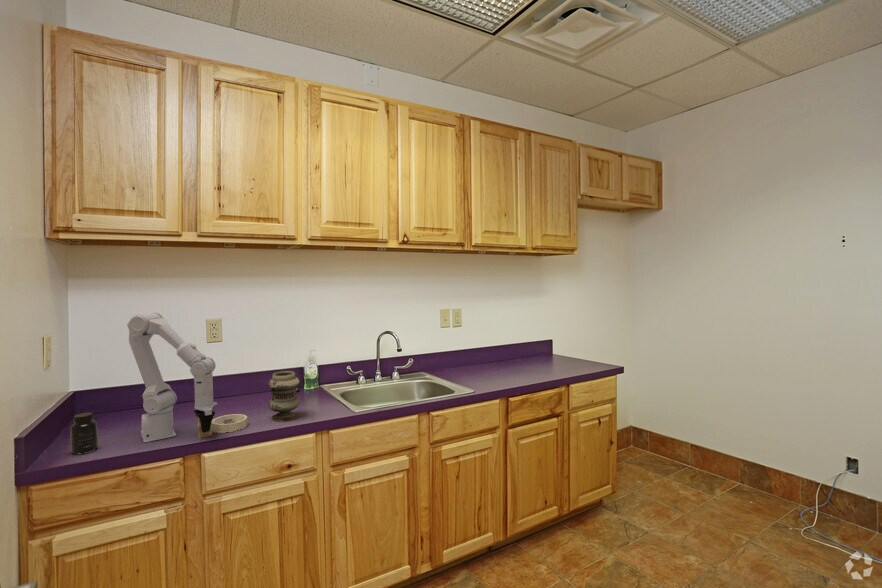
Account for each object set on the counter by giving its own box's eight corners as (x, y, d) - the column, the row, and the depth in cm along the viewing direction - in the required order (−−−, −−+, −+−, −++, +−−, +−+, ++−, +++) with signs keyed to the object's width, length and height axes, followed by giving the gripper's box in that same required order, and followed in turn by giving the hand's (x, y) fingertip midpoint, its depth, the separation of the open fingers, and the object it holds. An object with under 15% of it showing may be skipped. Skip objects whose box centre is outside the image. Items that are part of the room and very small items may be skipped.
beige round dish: (215, 435, 152) (215, 427, 152) (208, 426, 161) (208, 418, 161) (251, 427, 160) (250, 419, 160) (242, 419, 169) (242, 412, 169)
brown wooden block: (199, 438, 150) (198, 415, 149) (198, 436, 151) (197, 414, 151) (211, 435, 152) (211, 413, 152) (210, 433, 154) (210, 411, 154)
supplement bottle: (69, 451, 139) (67, 414, 139) (95, 445, 144) (94, 410, 144) (73, 456, 134) (71, 419, 134) (100, 450, 140) (99, 414, 139)
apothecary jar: (272, 424, 163) (271, 377, 163) (265, 416, 173) (264, 372, 173) (304, 418, 170) (303, 373, 169) (296, 410, 180) (295, 368, 179)
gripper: (221, 394, 148) (222, 433, 149) (211, 386, 159) (212, 422, 160) (198, 398, 144) (199, 438, 144) (190, 390, 155) (191, 426, 155)
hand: (204, 430), depth 152 cm, fingers open, 3 cm apart
